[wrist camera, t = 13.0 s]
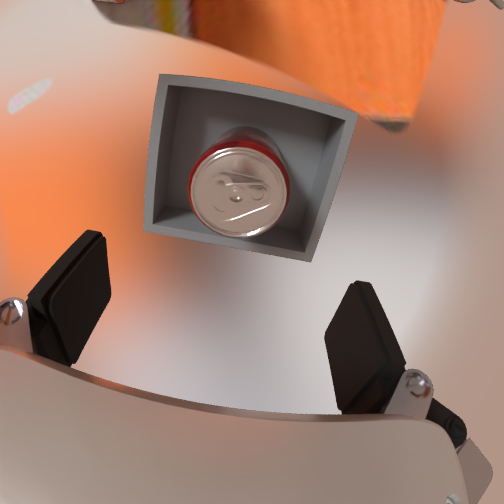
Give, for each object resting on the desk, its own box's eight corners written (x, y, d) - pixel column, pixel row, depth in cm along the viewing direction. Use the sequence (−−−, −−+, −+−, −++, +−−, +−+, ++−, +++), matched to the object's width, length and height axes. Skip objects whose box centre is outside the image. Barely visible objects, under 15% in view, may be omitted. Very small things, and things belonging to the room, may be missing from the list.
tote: (340, 110, 27) (358, 113, 22) (303, 236, 35) (310, 262, 30) (177, 77, 25) (159, 73, 20) (160, 209, 33) (143, 231, 28)
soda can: (212, 190, 31) (190, 241, 21) (210, 126, 27) (181, 143, 17) (277, 190, 31) (288, 242, 21) (280, 126, 27) (294, 143, 17)
